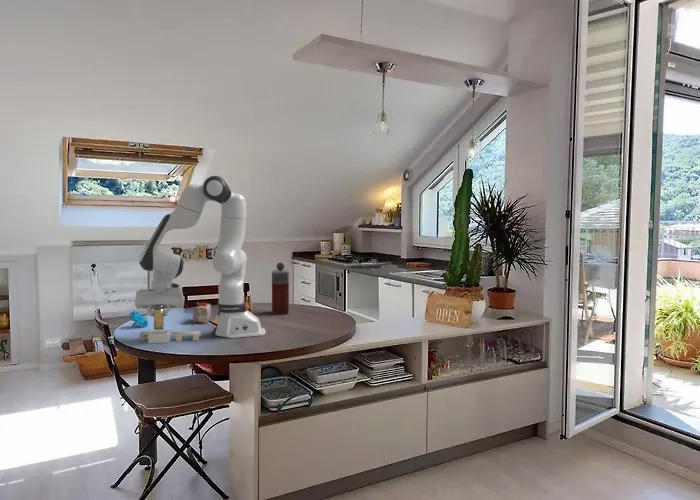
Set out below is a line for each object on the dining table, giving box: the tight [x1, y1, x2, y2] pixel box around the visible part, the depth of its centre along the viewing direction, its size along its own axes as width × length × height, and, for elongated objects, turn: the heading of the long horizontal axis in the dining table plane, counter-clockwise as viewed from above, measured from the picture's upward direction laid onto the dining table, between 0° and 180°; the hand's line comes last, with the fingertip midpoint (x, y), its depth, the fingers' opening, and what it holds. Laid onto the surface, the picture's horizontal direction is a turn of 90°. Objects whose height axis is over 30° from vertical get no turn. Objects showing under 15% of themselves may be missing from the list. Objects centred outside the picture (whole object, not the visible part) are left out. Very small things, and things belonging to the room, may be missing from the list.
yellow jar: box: [153, 305, 165, 331], centre depth 228 cm, size 4×4×10 cm
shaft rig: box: [147, 330, 202, 344], centre depth 230 cm, size 21×8×4 cm, turn 102°
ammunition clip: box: [243, 295, 253, 314], centre depth 278 cm, size 11×2×12 cm, turn 88°
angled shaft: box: [139, 330, 151, 341], centre depth 231 cm, size 4×4×4 cm
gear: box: [129, 310, 149, 328], centre depth 257 cm, size 11×6×10 cm
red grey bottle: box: [271, 261, 290, 316], centre depth 293 cm, size 9×11×28 cm
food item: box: [192, 301, 212, 324], centre depth 270 cm, size 14×8×10 cm, turn 7°
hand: (158, 315), depth 227 cm, fingers closed on yellow jar, 4 cm apart
